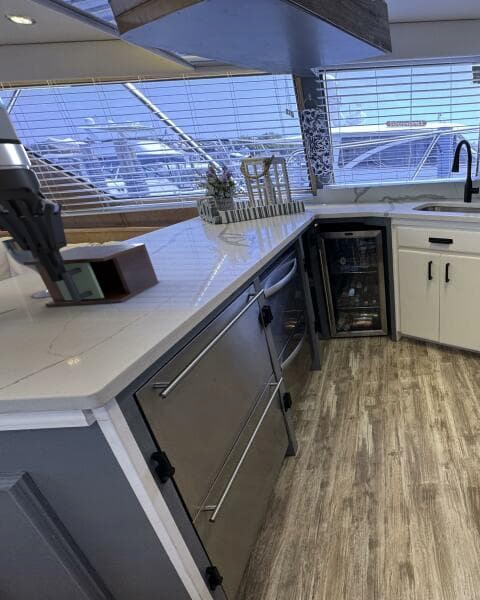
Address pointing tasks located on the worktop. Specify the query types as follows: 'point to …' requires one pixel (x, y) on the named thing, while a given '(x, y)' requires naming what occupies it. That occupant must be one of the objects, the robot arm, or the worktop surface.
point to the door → (79, 282)
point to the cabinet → (106, 272)
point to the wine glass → (23, 259)
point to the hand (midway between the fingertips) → (60, 279)
